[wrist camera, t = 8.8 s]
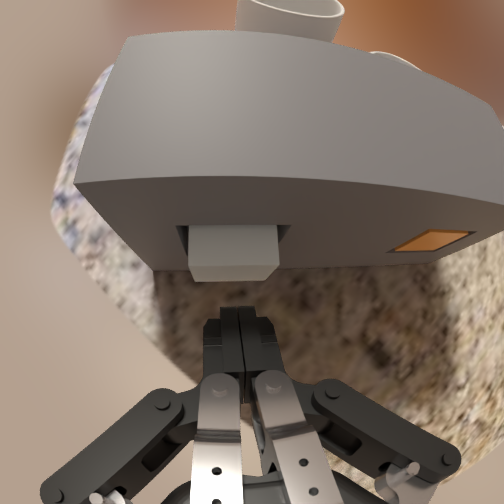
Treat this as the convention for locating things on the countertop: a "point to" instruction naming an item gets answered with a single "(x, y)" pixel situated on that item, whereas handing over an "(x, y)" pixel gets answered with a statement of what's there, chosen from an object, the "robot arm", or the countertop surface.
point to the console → (288, 150)
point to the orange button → (431, 240)
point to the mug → (291, 17)
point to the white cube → (232, 252)
